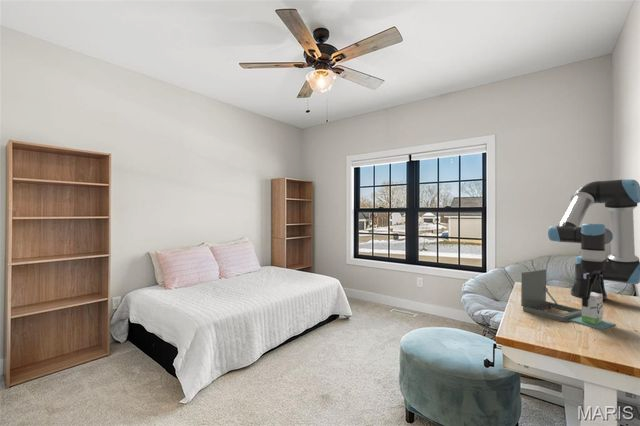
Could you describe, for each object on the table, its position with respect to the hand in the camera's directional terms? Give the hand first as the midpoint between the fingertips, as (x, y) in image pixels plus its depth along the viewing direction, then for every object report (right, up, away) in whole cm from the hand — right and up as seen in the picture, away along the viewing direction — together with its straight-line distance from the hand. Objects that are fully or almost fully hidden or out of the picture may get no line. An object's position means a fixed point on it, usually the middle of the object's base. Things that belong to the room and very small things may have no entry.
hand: (591, 312), depth 126 cm
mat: (0, -5, 0) cm, 5 cm away
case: (-6, -4, +12) cm, 15 cm away
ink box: (0, -4, 0) cm, 4 cm away
